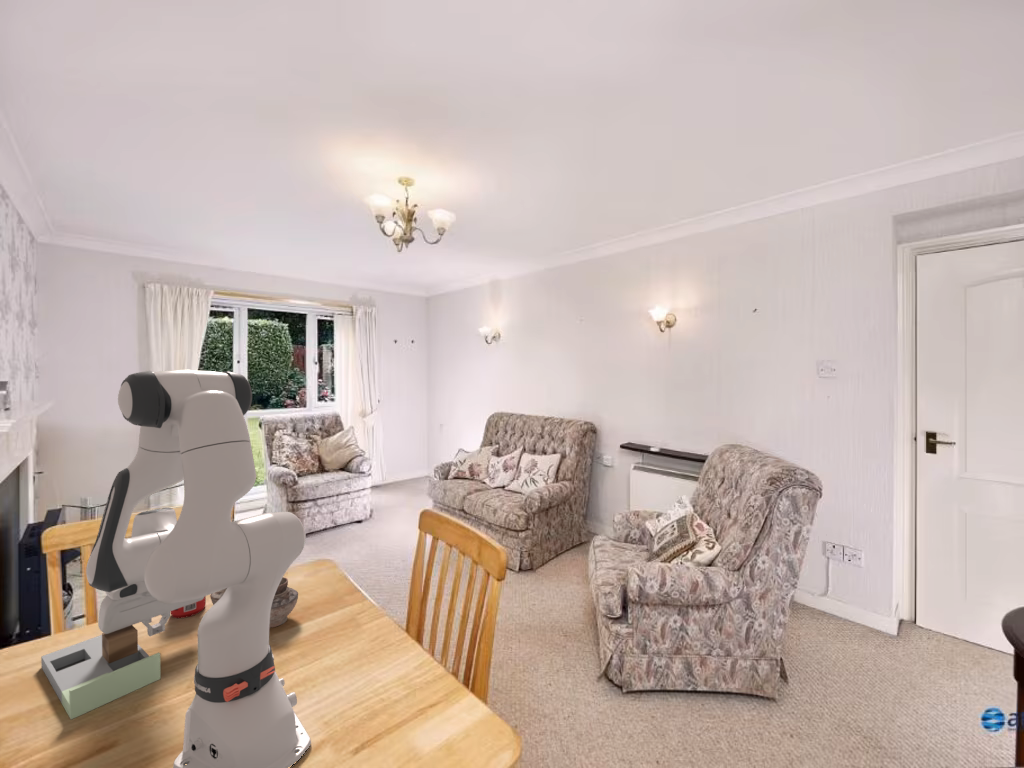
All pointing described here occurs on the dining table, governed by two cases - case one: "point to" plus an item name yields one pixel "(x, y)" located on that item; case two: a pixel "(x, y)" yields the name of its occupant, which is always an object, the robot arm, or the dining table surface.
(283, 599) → the pottery
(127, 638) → the walnut block
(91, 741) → the dining table surface
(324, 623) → the dining table surface
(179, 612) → the canned food
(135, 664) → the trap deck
